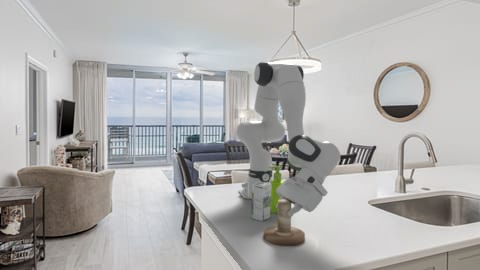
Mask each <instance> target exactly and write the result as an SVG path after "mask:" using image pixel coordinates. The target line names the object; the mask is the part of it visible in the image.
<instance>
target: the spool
mask: <svg viewBox="0 0 480 270" xmlns="http://www.w3.org/2000/svg"><path fill="white" fill-rule="evenodd" d="M288 209H292V203H291V201H290V200H286V199H281V200H278V213H277V217H276V218H277V219H276V220H277V223H276V226H277V228H275V234H276V235H279V236H284V237H287V236H292V235H293V229H291V227H292V217H289V216H288V215H287V214H286V212H287V211H288Z"/></svg>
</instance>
